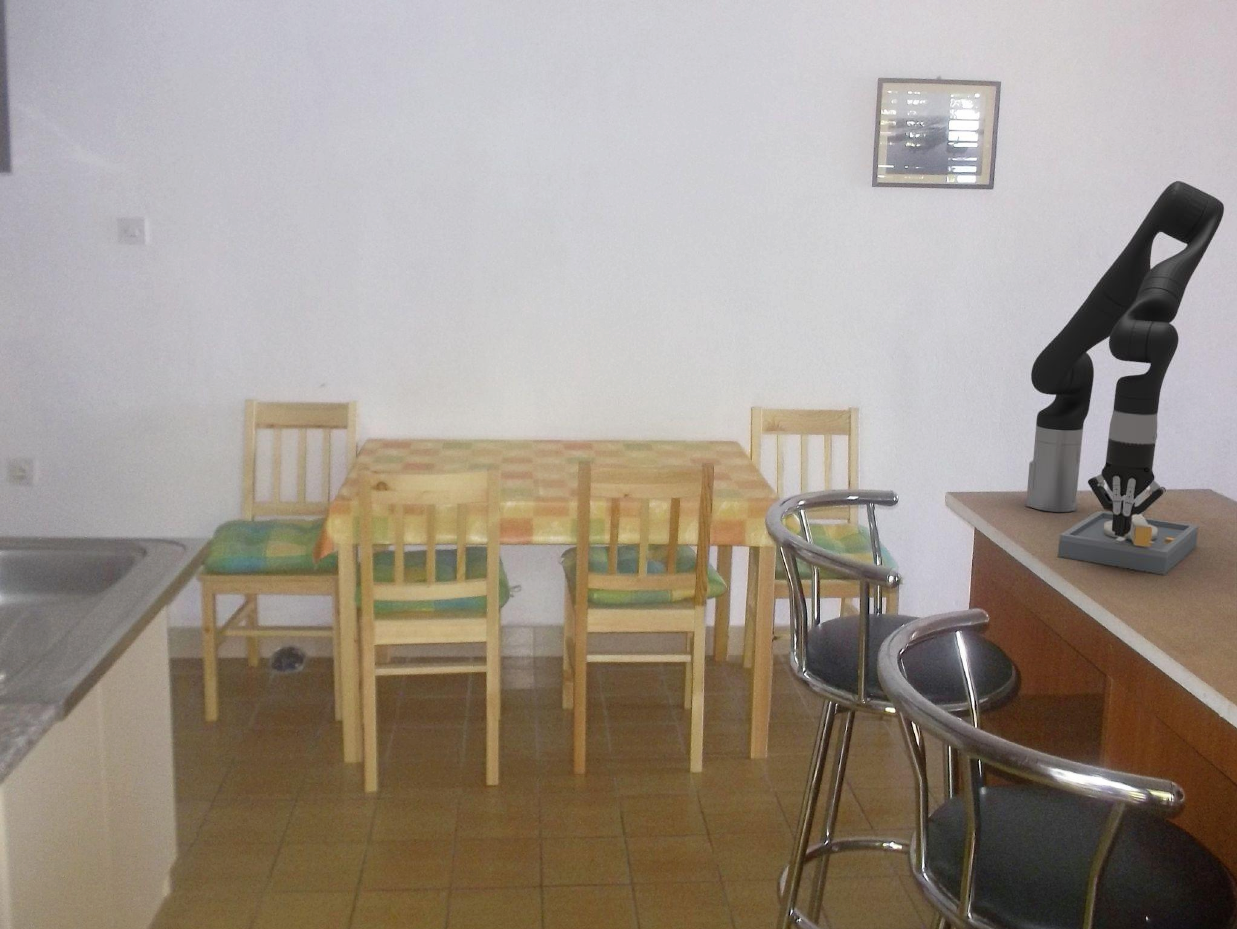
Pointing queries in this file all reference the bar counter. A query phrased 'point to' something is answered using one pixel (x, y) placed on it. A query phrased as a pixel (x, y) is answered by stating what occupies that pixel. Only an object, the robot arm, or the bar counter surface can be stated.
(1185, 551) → the grey tray
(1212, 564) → the bar counter surface
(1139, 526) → the white lever with disc
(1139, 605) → the bar counter surface
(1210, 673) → the bar counter surface
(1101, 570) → the bar counter surface
